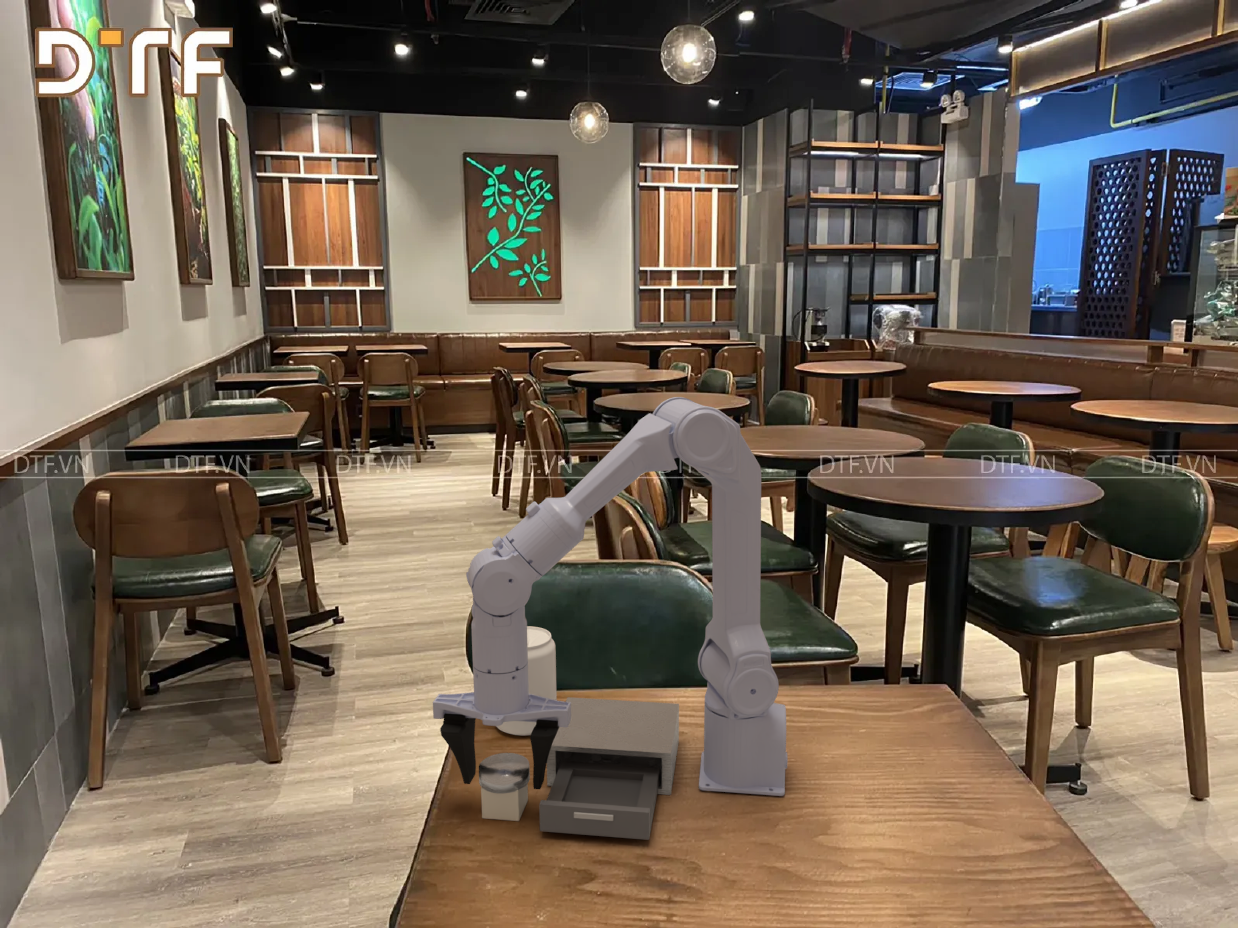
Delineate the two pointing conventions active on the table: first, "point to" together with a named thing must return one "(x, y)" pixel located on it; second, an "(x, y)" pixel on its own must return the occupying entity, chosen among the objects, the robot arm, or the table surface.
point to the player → (619, 736)
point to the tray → (601, 800)
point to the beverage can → (537, 675)
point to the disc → (504, 773)
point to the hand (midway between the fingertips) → (504, 781)
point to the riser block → (504, 804)
